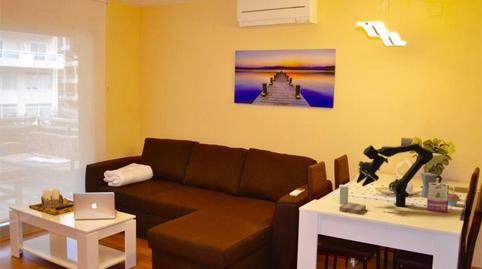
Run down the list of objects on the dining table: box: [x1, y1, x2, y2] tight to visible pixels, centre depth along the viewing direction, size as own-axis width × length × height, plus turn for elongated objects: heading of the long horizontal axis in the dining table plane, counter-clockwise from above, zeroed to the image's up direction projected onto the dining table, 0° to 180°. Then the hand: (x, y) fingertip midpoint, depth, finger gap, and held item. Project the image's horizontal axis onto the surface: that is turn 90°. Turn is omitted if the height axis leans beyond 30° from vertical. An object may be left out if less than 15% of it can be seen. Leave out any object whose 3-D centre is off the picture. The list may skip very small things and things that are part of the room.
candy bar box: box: [426, 182, 450, 213], centre depth 259 cm, size 11×5×16 cm, turn 68°
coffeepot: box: [420, 169, 443, 199], centre depth 292 cm, size 15×9×18 cm, turn 33°
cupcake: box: [448, 186, 460, 207], centre depth 273 cm, size 9×8×12 cm
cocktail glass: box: [416, 151, 445, 189], centre depth 318 cm, size 18×18×25 cm
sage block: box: [338, 184, 349, 205], centre depth 275 cm, size 5×5×11 cm
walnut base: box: [339, 202, 367, 215], centre depth 260 cm, size 12×12×2 cm
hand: (359, 184), depth 267 cm, fingers open, 9 cm apart
